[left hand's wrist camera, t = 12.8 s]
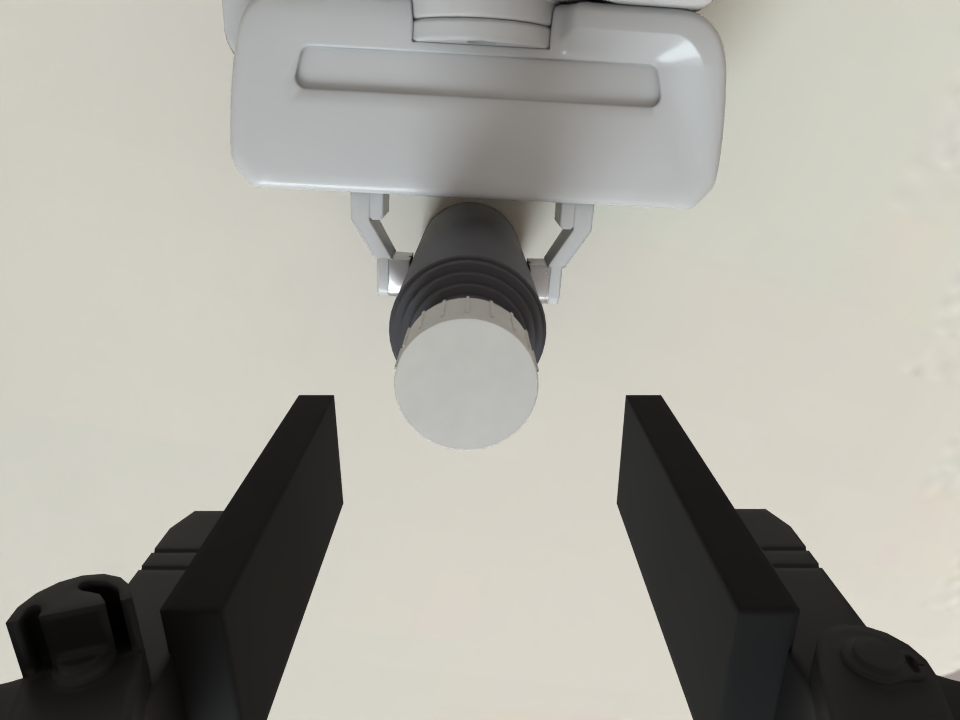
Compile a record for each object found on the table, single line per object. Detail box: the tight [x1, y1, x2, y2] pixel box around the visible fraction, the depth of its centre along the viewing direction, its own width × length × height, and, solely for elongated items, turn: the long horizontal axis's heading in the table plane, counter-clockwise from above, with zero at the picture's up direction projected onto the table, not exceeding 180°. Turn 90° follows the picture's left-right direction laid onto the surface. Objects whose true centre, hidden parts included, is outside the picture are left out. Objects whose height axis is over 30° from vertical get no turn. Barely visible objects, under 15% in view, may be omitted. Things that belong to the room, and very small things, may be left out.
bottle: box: [389, 202, 546, 364], centre depth 27 cm, size 5×5×19 cm
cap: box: [394, 296, 539, 450], centre depth 19 cm, size 4×4×2 cm
